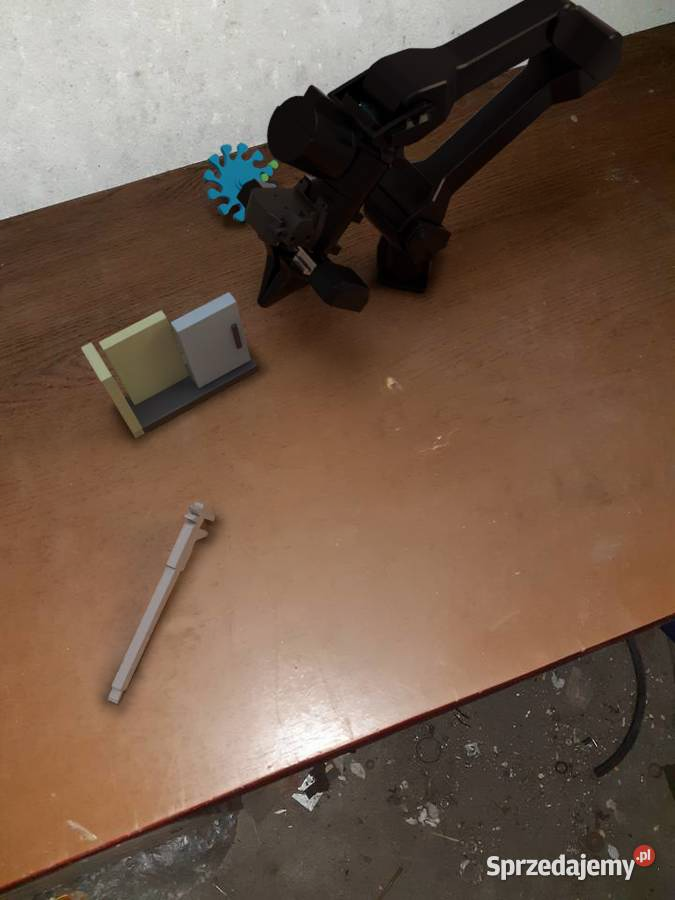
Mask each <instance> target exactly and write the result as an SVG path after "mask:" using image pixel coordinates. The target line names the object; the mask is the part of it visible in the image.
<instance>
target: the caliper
mask: <svg viewBox="0 0 675 900" xmlns="http://www.w3.org/2000/svg"><path fill="white" fill-rule="evenodd" d="M188 510H189V512H187V513H185V514H184V516H183V518H185V519H187V521H186V522H184V524H183V526H182V528H181V530H180V532H179V534H178V537H177V539H176V542H175V544H174V546H173V548H172V550H171V552H170V554H169V557H168V559H167V561H166V564H165V566H166V567H165V569H164V571H163V573H162V576H161V578H160V579H159V582H158V584H157V586H156V589H155V591H154V593H153V595H152V597H151V600H150V602H149V604H148V606H147V608H146V610H145V613H143V614H144V615H143V617H142V619H141V620H140V624H139V625H138V627H137V630H136V631H135V633H134V636H133V638H132V641H131V642H130V645H129V647H128V649H127V651H126V654H125V656H124V658H123V659H122V662H121V664H120V667H119V668H118V670H117V673H116V675H115V678H114V680H113V682H112V683H111V687H112V688H111V691H110V692H109V695H108V698H107V700H108V701H110V702H112V703H114V704H116V705H118V704H119V702H120V701H121V697H122V695H123V693H124V691H126V690H127V689H128V687H129V685H130V682H131V680H132V678H133V676H134V674H135V671H136V669H137V667H138V665H139V662H140V660H141V658H142V656H143V653H144V652H145V649H146V647H147V645H148V642H149V640H150V639H151V636H152V635H153V631H154V629H155V627H156V625H157V622H158V621H159V618H160V616H161V614H162V612H163V610H164V607H165V605H166V603H167V602H168V599H169V597H170V594H171V592H172V591H173V588H174V585H175V583H176V581H177V579H178V577H179V575H180V573H181V572H184V570H185V568H186V565H187V562H188V560H189V559H190V557H191V555H192V551H193V548H194V547H193V546H194V544H195V543H196V541H198V540H201V539H204V538H206V537H208V535H209V532H208V531H206V530H205V529H203V528H201V526H202V524H203V521H204V520H208V521H210V522H213V523H214V522H215V517H216V516H215V514H214V512H213V510H212V508H211V506H209V505H206V504H203V503H200V502H198V501H194V503H193V505H192V504H188Z"/></svg>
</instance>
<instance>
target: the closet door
mask: <svg viewBox="0 0 675 900" xmlns="http://www.w3.org/2000/svg"><path fill="white" fill-rule="evenodd" d="M170 326H171V329H172V331H173V334H174V337H175V339H176V342H177V344H178V347H179V349H180V352H181V354H182V357H183V360H184V362H185V364H187V366H188V369H189V371H190V374H191V376H192V379H193V381H194V382H195V384H196V385H197V387H198V388H201V387H203V386H204V385H206V384H208V383H210V382H212V381H214V380H215V379H217V378H219V377H221V376H223V375H224V374H226V373H228V372H230V371H232V370H234V369H235V368H237V367H239V366H241V365H243V364H245V363H246V362H248V361H250V356H249V354H250V352H249V348H248V344H247V340H246V335H245V330H244V328H243V323H242V319H241V316H240V311H239V307H238V302H237V300H236V299H235V298H234V296H233V295H232V294H231V292H229V291H228V292H226V293H224V294H222V295H220V296H219V297H216V298H215V299H213V300H210V301H209V302H207V303H205V304H203V305H201V306H199V307H196V308H195V309H193V310H192V311H189V312H187V313H185V314H184V315H181V316H180V317H178V318H176V319H174V320H172V321H170Z"/></svg>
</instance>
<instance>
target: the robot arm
mask: <svg viewBox="0 0 675 900" xmlns="http://www.w3.org/2000/svg"><path fill="white" fill-rule="evenodd" d="M623 44H624V37H623V35H622V33H621V32H620V31H618V30H617V29H615V28H613V26H612V25H609V24H608V23H607V22H605V21H604V20H602V19H601V18H599V17H598V16H597V15H595V14H594V13H592V12H591V11H590V10H588V9H586V8H585V7H584V6H582V5H580V4H576V3H575V2H573V1H572V0H521V1H519V2H517V3H516V4H513V5H512V6H510V7H509V8H507V9H505V10H503V11H501V12H499V13H498V14H496V15H494V16H492V17H490V18H488V19H486V20H485V21H482V23H479V24H478V25H476V26H474V27H472V28H470V29H469V30H467V31H465V32H463V33H462V34H460V35H458V36H456V37H454V38H453V39H451V40H449V41H447V42H445V43H444V44H441V45H438V46H435V47H408V48H405V49H402V50H399V51H396V52H393V53H390V54H387V55H384V56H382V57H379V58H378V60H376V61H375V62H373V63H372V64H370V66H369V67H368V68H367V69H365V70H363V71H362V72H360V73H358V74H357V75H355V76H354V77H352V78H350V79H348V80H347V81H345V82H343V83H342V84H340V85H339V86H337V87H336V88H334V89H331V91H329V92H328V93H327V94H325V93H324V92H323V90H322V89H320V88H318V87H317V86H315V85H314V84H310V85H308V87H307V89H306V91H305V92H304V94H303V95H294V96H293V95H292V96H290V97H288V98H287V99H285V100H283V102H282V103H281V104H280V105H277V106H276V107H275V109H274V110H273V112H272V114H271V116H270V118H269V122H268V126H267V129H266V130H267V131H266V144H267V147H268V150H269V152H270V154H271V156H272V157H273V158H274V159H275V160H277V161H278V162H281V163H283V164H285V165H287V166H290V167H292V168H294V169H296V170H298V171H301V172H303V173H306V174H304V175H303V177H301V178H299V180H298V181H297V183H296V184H295V185H294V186H293V187H292V188H287V187H284V186H276V187H275V186H273V185H270V184H271V183H269V182H266V183H265V182H263V181H260V180H258V179H255V178H254V179H252V180H250V181H248V182H246V183H244V185H243V186H242V188H241V190H240V191H239V193H238V195H237V197H236V198H237V199H238V200H239V202H240V203H241V204H242V205H243V206H244V208H245V212H244V222H245V223H246V224H247V225H249V226H250V227H251V228H252V229H253V231H254V232H255V233H256V234H257V238H258V239H259V240H260V241H261V242H262V243H263V244H264V247H265V250H266V259H265V266H264V271H263V275H262V280H261V284H260V288H259V292H258V296H257V299H256V300H257V301H256V303H257V304H258V306H259V307H260V308H261V309H269V307H271V306H272V307H273V306H274V305H275V304H277V303H278V302H280V301H282V300H284V299H285V298H288V297H289V296H290V295H293V294H295V293H296V292H298V291H300V290H302V289H304V288H306V287H310V288H311V289H312V290H313V291H314V293H315V294H316V295H317V296H318V297H319V299H320V300H321V301H322V302H323V303H324V304H326V305H327V306H328V307H330V308H335V309H340V310H345V311H349V312H354V313H357V314H358V313H359V314H360V313H361V312H362V310H363V309H364V308H365V306H366V305H367V304H368V303H369V301H370V298H371V288H370V287H369V285H368V284H367V283H366V282H365V281H364V280H363V279H362V278H361V277H360V275H359V274H358V273H357V272H356V271H355V270H354V268H353V267H350V266H346V265H342V264H339V263H336V262H334V261H332V259H331V258H329V254H330V255H333V256H336V257H338V255H339V254H340V252H341V251H342V249H343V247H342V246H341V245H340V244H339V243H338V242H339V241H340V239H341V238H342V236H343V235H344V233H345V232H346V230H347V229H348V228H349V226H350V225H351V223H355V224H357V225H360V224H361V222H362V221H363V220H364V219H366V220H367V221H368V222H369V223H370V224H371V225H372V226H373V227H374V228H375V229H376V230H377V231H378V233H380V236H379V238H378V241H377V244H376V262H375V263H376V268H377V269H378V272H377V275H376V283H377V284H379V285H385V286H388V287H393V288H398V289H404V290H407V291H408V290H409V291H413V292H418V293H426V292H427V290H428V286H429V283H430V279H431V276H432V273H433V270H434V266H435V263H436V259H437V254H439V252H440V251H442V250H444V249H445V248H447V245H448V244H449V241H450V239H451V237H452V232H451V231H450V230H449V229H448V228H447V227H446V226H445V225H444V224H443V222H444V220H445V216H446V213H447V211H448V208H449V205H450V202H451V200H452V199H451V198H452V197H453V195H454V194H456V192H457V191H458V190H459V189H461V187H463V186H464V185H465V184H466V183H467V182H469V180H471V179H472V178H473V177H474V176H475V175H476V174H477V173H478V172H479V171H480V170H482V168H484V167H485V166H486V165H487V164H488V163H489V162H490V161H491V160H493V159H494V158H495V157H496V156H497V155H498V154H500V153H501V152H502V151H503V150H504V149H505V148H506V147H507V146H508V145H509V144H510V143H511V142H513V141H514V140H515V139H516V138H517V137H519V135H520V134H521V133H523V132H524V131H525V130H526V129H527V128H528V127H529V126H531V125H532V124H533V122H535V121H536V120H537V119H538V118H539V117H540V116H541V115H543V114H544V113H545V112H547V110H549V108H550V107H552V106H555V105H558V104H561V103H567V102H569V101H574V100H575V101H576V100H579V99H582V98H583V97H584V96H586V95H587V94H589V93H590V92H591V91H593V90H594V89H595V88H597V87H598V86H599V85H600V84H602V83H604V82H605V81H607V80H608V79H609V78H610V77H612V76H613V75H614V73H615V72H616V71H617V69H618V68H619V67H620V65H621V62H622V60H623V55H624V52H623V50H622V49H623ZM526 61H527V63H526V65H525V66H524V67H523V69H521V71H519V72H518V73H517V74H516V75H515V76H514V77H513V78H512V79H511V80H510V81H509V82H508V83H507V84H506V85H504V86H503V87H502V88H501V89H500V90H499V91H498V92H497V93H496V94H495V95H493V96H492V97H491V98H490V99H489V100H488V101H487V102H486V103H485V104H484V105H483V106H482V107H480V109H478V111H476V112H475V113H474V114H473V115H472V116H471V117H470V118H468V119H467V120H466V121H465V122H464V123H463V124H462V125H461V126H460V127H459V128H458V129H456V130H455V131H454V132H453V133H452V134H451V135H450V136H449V137H448V138H447V139H446V140H445V141H443V142H442V144H440V145H439V146H438V147H437V148H436V149H435V150H434V151H433V152H432V153H430V155H428V156H427V157H426V158H424V159H421V160H418V161H413V162H410V160H409V159H408V158H406V156H405V147H408V146H409V147H410V146H412V145H414V144H416V143H418V142H420V141H421V140H424V138H426V137H427V136H429V134H431V133H432V132H434V131H435V130H436V129H438V128H439V127H440V126H442V125H443V124H444V123H445V122H446V121H447V119H448V117H449V116H450V114H451V111H452V109H453V108H454V106H455V104H456V103H457V102H458V101H459V100H460V99H462V98H463V97H464V96H466V95H468V94H469V93H471V92H473V91H475V90H477V89H478V88H480V87H482V86H483V85H485V84H487V83H489V82H490V81H492V80H494V79H496V78H498V77H500V76H501V75H503V74H504V73H507V72H508V71H510V70H512V69H514V68H515V67H517V66H519V65H520V64H522V63H524V62H526ZM309 175H310V176H309ZM268 183H269V184H268ZM361 209H362V212H363V213H362V212H361Z"/></svg>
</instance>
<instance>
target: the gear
mask: <svg viewBox="0 0 675 900" xmlns="http://www.w3.org/2000/svg"><path fill="white" fill-rule="evenodd" d="M232 148H233V147H232V145H231V144H230V143H229V144H227V143H226V144H222V145H221V146H220V148H219V150H220V152H221V154H222V156H223V159H224V166H222V165H221V164H220V156H219V154H218V153H215V152H214V153H213V154H211V155H210V156H209V157H208V158H207V162H208V164H210V165H211V166H213V167H214V168H215V169H216V171H217V173H218V176H219V178H217V177H216V176H215V174H214V172H213V171H212V170H211V169H207V170H206V171H205V172H204V174H203V177H202V178H203V179H202V180H203V181H205V182H206V183H209V182H210V183H213V184H215V185H217V186H218V187H219V188H220V192H219V191H218V190H216V188H210V189H208V190H207V191H206V194H207V199H208V200H209V201H214V200H216V199H217V198H225V199H227V200H228V201H227V202H228V204H227V203H226V204H225V203H221V204H220V205H217V210H218V212H219V213H220V215H221V216H225V215H227V214H229V211H230V210H231V208H232V207H233V206H235V205H237V206H238V207H239V211H237V212H235V213H234V214H233V215H232V218H233V220H234V221H236V222H239V223H242V222H245V220H244V217H245V212H246V209H245V208H244V206H243V205H242V204H241V203H240V202H239V200H238V199H237V198H236V197H237V195H238V193H239V191H240V190H241V188H242V186H243V185H244V183H246V182H248V181H250V180H252V179H254V178H255V179H258V180H260V181H263V182H265V183H268V184H270V185H273V186H275V187H277V185H276V184H274V183H270V182H267V181H268V180H269V179H270V178H271V177H272V176H273V174H274V170H276V169H278V167H279V163H278V160H277V161H276V159H275V160H274V159H273V160H271V161H269V162H268V163H267V166H263V167H260V168H258V167H255V166H254V164H253V163H254V162H255V163H260V162H261V161H263V159H264V155H263V154H262V152H261V151H260V150H259V149H257V150H255V151H254V152H252V155H251V156H250V158H249V159H247V160H244V159H243V157H242V156H243V154H245V153H247V152H248V150H249V146H248V145H247V144H245V143H243V142H239V143H238V144H237V145H236V155H235V158H234V159H233V160H232V159H231V158H230V154H231V152H232V150H233V149H232Z"/></svg>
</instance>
